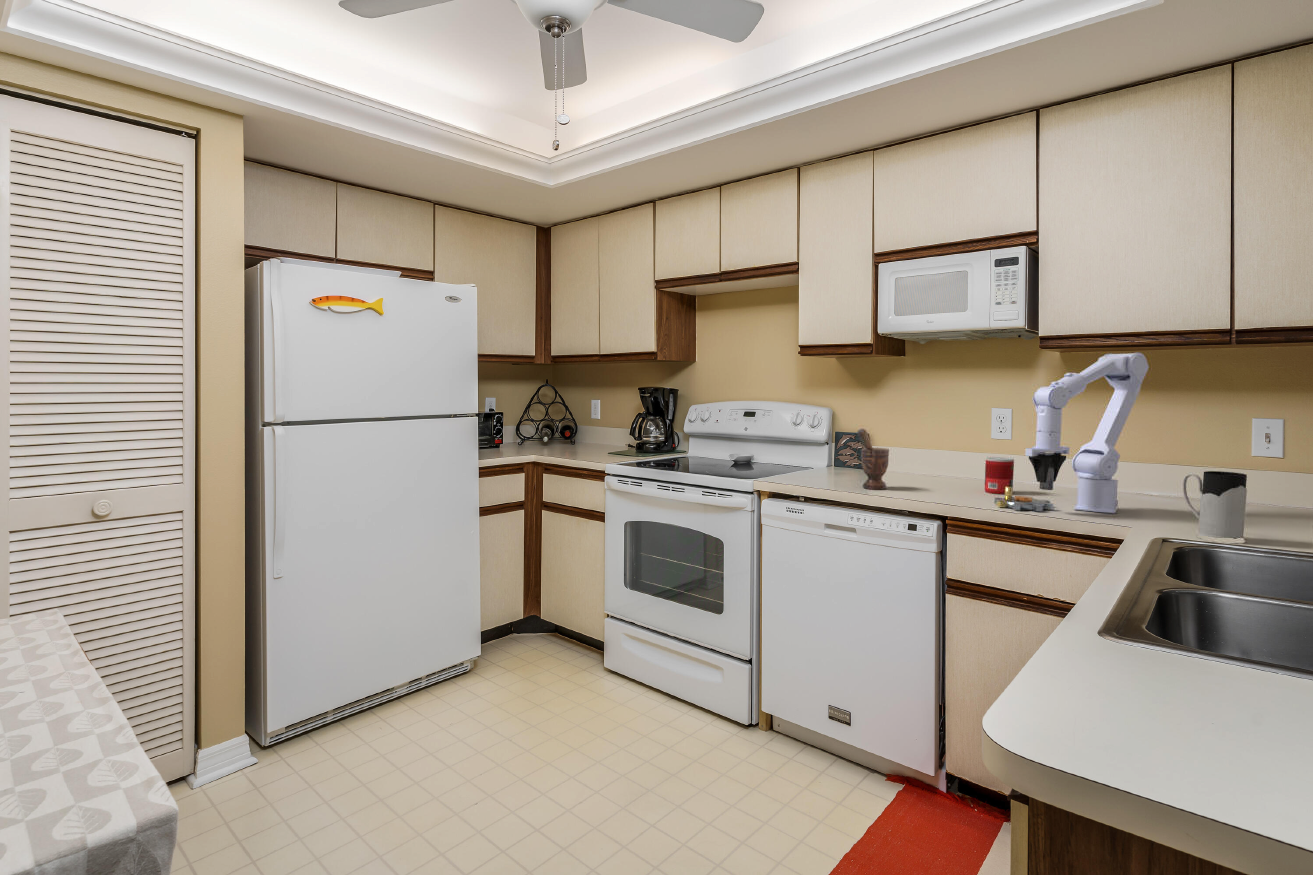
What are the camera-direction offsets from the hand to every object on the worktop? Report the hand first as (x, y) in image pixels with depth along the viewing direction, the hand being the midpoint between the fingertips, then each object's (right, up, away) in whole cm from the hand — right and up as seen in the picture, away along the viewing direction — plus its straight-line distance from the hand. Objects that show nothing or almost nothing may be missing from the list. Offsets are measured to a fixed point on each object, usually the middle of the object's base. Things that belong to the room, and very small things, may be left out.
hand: (1046, 481), depth 185 cm
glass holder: (+22, -11, -27) cm, 37 cm away
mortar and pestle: (-34, -5, +40) cm, 53 cm away
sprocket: (-2, -8, +8) cm, 11 cm away
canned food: (+3, -6, +33) cm, 33 cm away
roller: (0, -2, 0) cm, 2 cm away
